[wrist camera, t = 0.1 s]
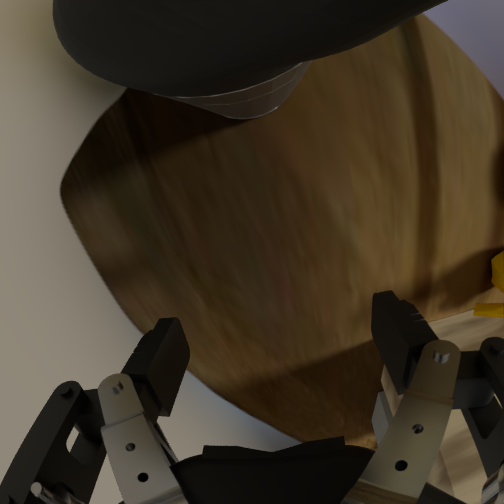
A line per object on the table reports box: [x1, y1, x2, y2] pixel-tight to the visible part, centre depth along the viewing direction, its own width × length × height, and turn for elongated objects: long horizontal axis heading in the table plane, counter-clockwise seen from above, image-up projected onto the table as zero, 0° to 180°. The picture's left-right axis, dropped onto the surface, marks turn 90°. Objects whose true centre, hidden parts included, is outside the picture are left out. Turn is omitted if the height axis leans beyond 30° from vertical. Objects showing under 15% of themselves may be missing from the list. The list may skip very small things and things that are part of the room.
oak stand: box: [381, 309, 504, 504], centre depth 19 cm, size 10×18×32 cm, turn 100°
